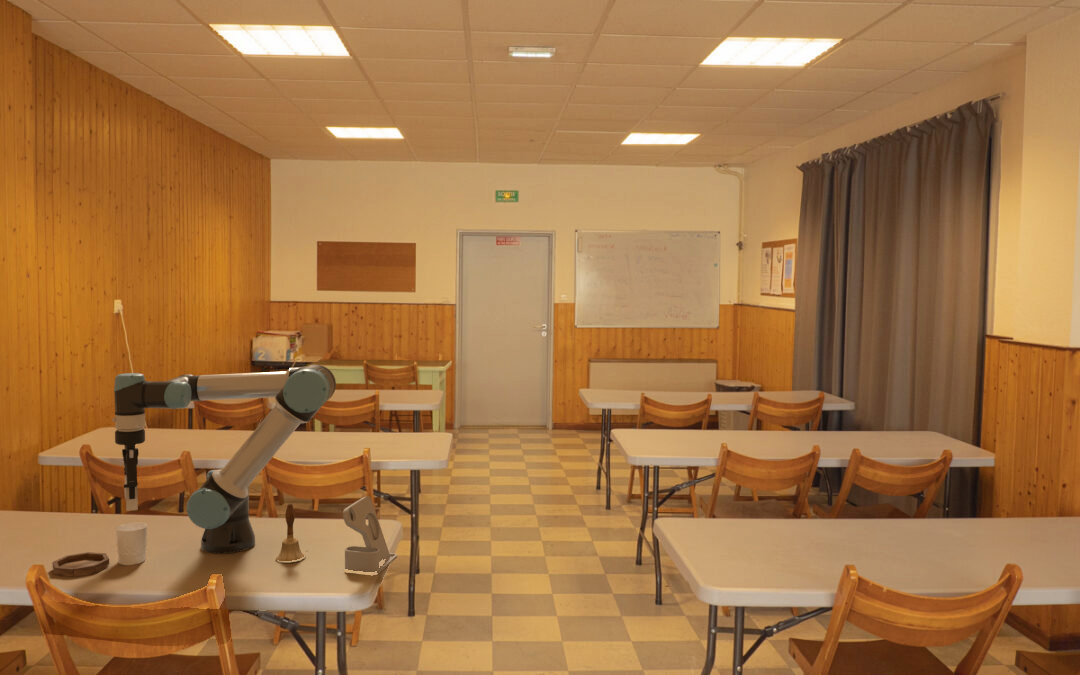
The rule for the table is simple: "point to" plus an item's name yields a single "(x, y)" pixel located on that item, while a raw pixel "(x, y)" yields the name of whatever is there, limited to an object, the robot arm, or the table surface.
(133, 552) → the white cup
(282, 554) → the hand bell
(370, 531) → the phone holder
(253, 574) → the table surface
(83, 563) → the coaster ring
